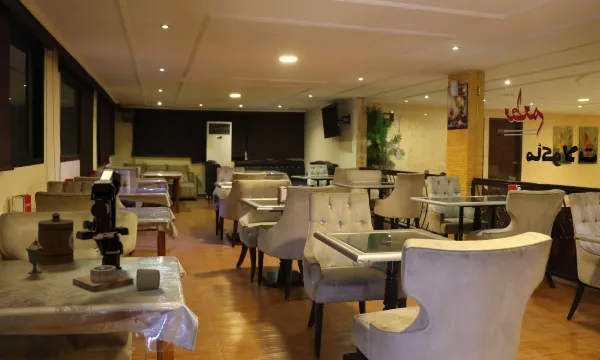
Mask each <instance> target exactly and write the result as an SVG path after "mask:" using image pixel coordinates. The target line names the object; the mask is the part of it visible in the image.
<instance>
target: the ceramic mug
mask: <svg viewBox="0 0 600 360" xmlns="http://www.w3.org/2000/svg"><path fill="white" fill-rule="evenodd" d="M135 279H136V285H135V286H136V291H144V290H155V289H156V290H157V289H159V288H160V286H161V285H160V284H161V271H160V270H159V269H156V268H154V269H153V268H137V270H136V277H135Z"/></svg>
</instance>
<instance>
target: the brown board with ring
mask: <svg viewBox="0 0 600 360" xmlns="http://www.w3.org/2000/svg"><path fill="white" fill-rule="evenodd" d="M98 267H110V269H108V270H96V268H98ZM89 272H90V273H89V274H90V275H85V276H84V275H83V276H79V277H73V278H72V284H74V285H76V286H77V287H81V288H84V289H86V290H89V291H91V292H93V293H94V292H98V291H105V290H108V289H113V288H119V287H123V286H128V285H133V284H134V278H133V277H130V276H127V275H123V274H121V273H118V272H117V269H116V267H115V266H108V265H105V266H102V265H97V266H93V267H91V268H90V270H89Z"/></svg>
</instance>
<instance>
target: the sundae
mask: <svg viewBox="0 0 600 360" xmlns="http://www.w3.org/2000/svg"><path fill="white" fill-rule="evenodd" d="M43 249H44V248H42V247H41V246H40V244H39V243H38V236H37V237H35V239H34V241H33V242H31V244H30V245H29V246H28V247H27V248H25V251H27V256H28V263H30V264H31V265H32V269H31V271H29V272H28V273H27V274H29V275H38V274H41V273H42V271H40V270H38V269H37V265H38V264H40V263H39V262H40V259H41V252H42V250H43Z"/></svg>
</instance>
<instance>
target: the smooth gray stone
mask: <svg viewBox="0 0 600 360" xmlns="http://www.w3.org/2000/svg"><path fill="white" fill-rule="evenodd" d="M108 269H110V267H98V268H96V270H108Z"/></svg>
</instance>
